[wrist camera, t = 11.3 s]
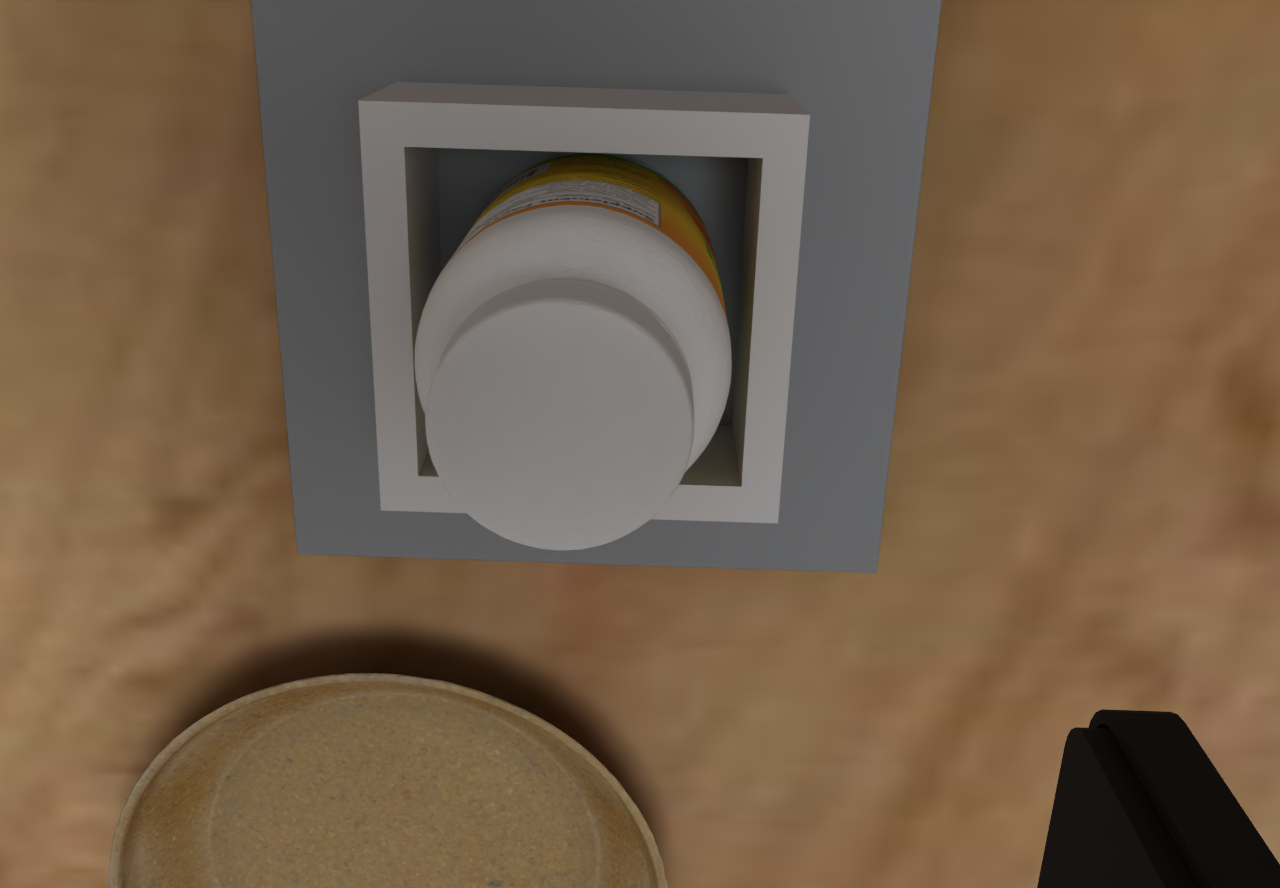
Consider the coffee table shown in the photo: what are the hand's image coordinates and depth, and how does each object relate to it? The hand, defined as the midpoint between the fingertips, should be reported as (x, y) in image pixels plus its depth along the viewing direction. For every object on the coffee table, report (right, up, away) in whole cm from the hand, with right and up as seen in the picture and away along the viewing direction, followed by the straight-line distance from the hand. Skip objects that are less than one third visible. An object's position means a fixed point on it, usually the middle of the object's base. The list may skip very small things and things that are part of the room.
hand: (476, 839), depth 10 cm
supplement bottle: (0, +7, +17) cm, 19 cm away
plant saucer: (-5, -8, +25) cm, 27 cm away
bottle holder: (0, +7, +18) cm, 20 cm away
